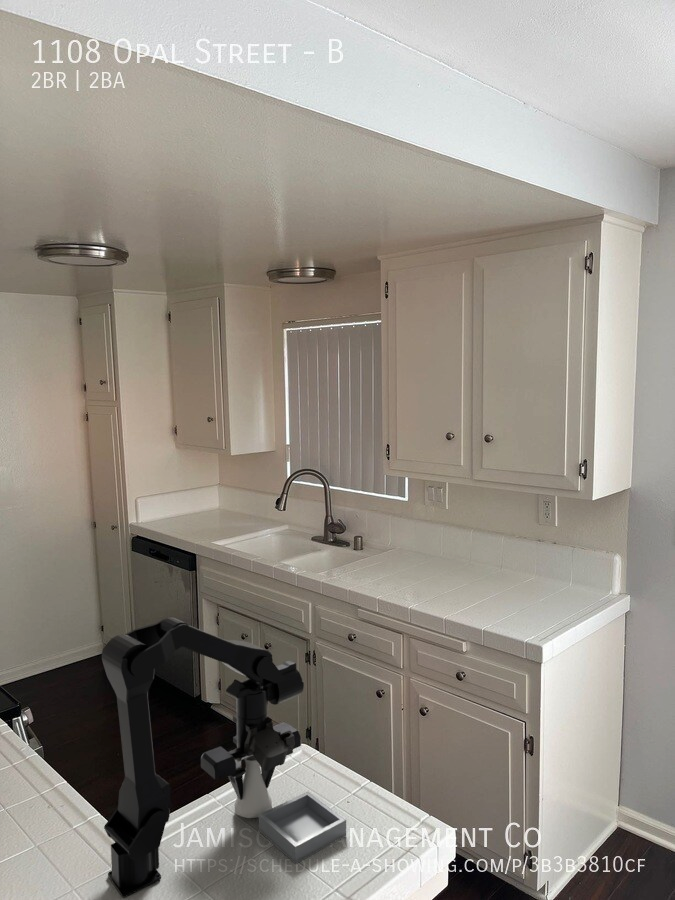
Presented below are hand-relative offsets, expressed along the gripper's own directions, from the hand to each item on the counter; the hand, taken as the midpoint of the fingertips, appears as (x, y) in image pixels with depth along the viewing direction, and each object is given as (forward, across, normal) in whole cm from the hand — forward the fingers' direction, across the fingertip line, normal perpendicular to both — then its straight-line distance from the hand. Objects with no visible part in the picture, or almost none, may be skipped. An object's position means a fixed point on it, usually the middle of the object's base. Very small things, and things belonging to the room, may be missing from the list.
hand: (253, 792), depth 127 cm
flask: (+3, 0, 0) cm, 3 cm away
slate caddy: (+4, +4, -10) cm, 12 cm away
